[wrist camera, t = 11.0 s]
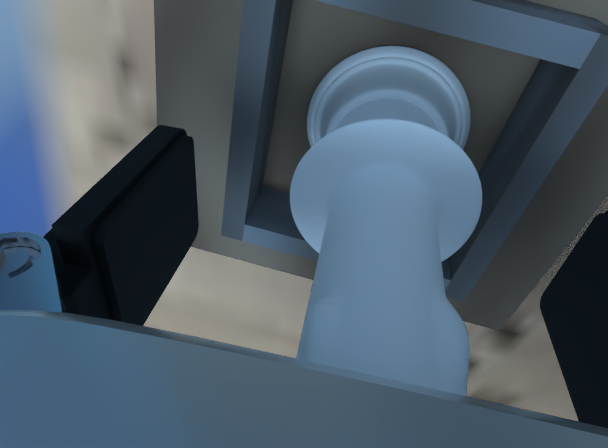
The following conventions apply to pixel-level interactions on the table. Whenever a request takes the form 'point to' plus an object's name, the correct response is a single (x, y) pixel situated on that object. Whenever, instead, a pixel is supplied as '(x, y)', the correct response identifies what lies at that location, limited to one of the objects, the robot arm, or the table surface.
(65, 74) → the table surface
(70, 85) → the table surface
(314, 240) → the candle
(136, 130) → the table surface
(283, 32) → the keeper board
